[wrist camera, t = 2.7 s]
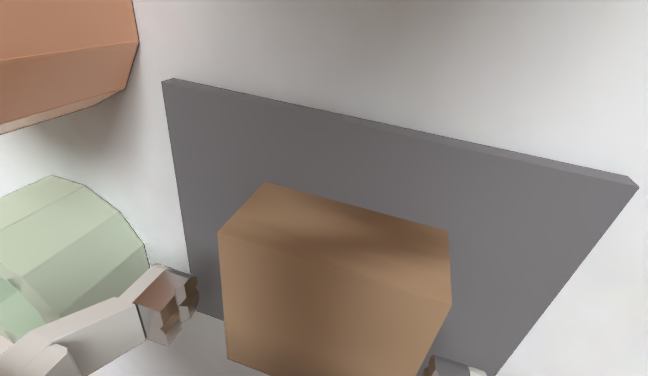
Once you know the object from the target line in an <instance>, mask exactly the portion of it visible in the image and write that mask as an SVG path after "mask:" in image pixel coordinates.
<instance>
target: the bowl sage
mask: <svg viewBox="0 0 648 376" xmlns="http://www.w3.org/2000/svg"><path fill="white" fill-rule="evenodd" d="M148 269H149V265H148V260H147V256H146V252H145V248H144V244H143V243H142V242H141V240H140V239H139V238H138V236H137V235H136V234H135V232H134V231H133V230H132V228H131V227H130V226H129V224H128V223H127V221H126V220H125V219H124V217H123V216H122V215H121V213H120V212H119V211H118V210H116V209H115V208H114V207H112V206H111V205H110V204H108V203H107V202H106V201H104V200H103V199H102V198H100V197H99V196H98V195H96V194H95V193H94V192H92V191H91V190H90V189H88V188H87V187H86V186H84V185H81V184H78V183H75V182H71V181H68V180H65V179H62V178H58V177H55V176H52V175H50V176H48V177H45V178H43V179H41V180H39V181H37V182H34V183H32V184H29V185H27V186H24V187H22V188H20V189H18V190H16V191H13V192H11V193H9V194H7V195H5V196H2V197H0V335H2V336H3V337H5V338H6V339H8V340H9V341H11V342H12V343H15V342H17V341H18V340H19V339H20V338H22V337H23V336H24V335H25V334H26V333H28V332H29V331H31V330H33V329H36V328H38V327H40V326H43V325H45V324H48V323H50V322H53V321H55V320H58V319H60V318H63V317H65V316H68V315H70V314H73V313H75V312H78V311H80V310H83V309H85V308H88V307H90V306H93V305H95V304H98V303H100V302H103V301H105V300H107V299H110V298H112V297H117V298H118V297H120V296H121V295H122V294H123V293H124V292H125V291H126V290H127V289H128V288H129V287H130V286H131V285H132V284H133V283H134V282H135V281H136V280H138V279H139V278H140V277H141V276H142V275H143V274H144V273H145V272H146V271H147V270H148Z"/></svg>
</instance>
